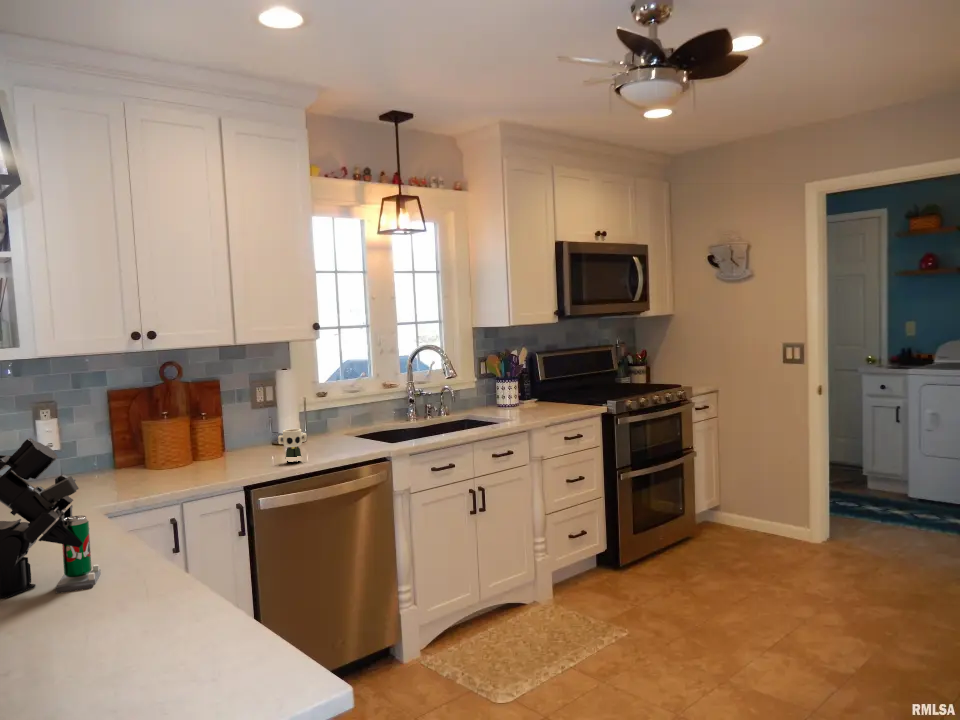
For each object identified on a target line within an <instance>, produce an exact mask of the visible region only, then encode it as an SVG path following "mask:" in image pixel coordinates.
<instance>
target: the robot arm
mask: <svg viewBox="0 0 960 720" xmlns="http://www.w3.org/2000/svg"><path fill="white" fill-rule="evenodd" d="M58 458H59V457H58V455H57V453H56V452H55V451H54V449H52V448H51V447H49V446H48V445H45V444H43V443H42V442H39V441H37V440H36V441H35V440H34V439H33V438H31V437H30V438H27V439H26V440H24V441H23V443H22V444H21V445H20V447H19V448H18V449H17V450H16V451H15V452H13V454H12V455H8V454H7V455H2V454H1V455H0V472H1V471H2V470H3V471H4V469H6V468H8V467H10V468H8V470H6V472H5V473H3V474H0V503H2V505H4V506H5V507H7V508H9V509H10V510H11V511H10V514H11V515H13V516H16V515H18V516H20V517H22V518H23V520H25V521H22V519H21V518H18V519H16V520H12V521H10V520H9V521H7V520H0V598H3V599H5V598H6V599H8V598H10V597H13V596H15V595H19V594H20V593H24V592H26V591H28V590H31V589H34V588H36V583H32V571H31V564H30V563H29V557H27V555H28V553H29V550H30V548H32V547H33V546H34V545H35V544H36V542H37V540H38V541H39V542H48V543H53V544H59V545H62V544H64V545H69V546H74V547H80V546H81V545H82V544H83V542H82V541H81V540H80V539H79V538H78V537H77V536H76V535H75V534H74V533H73V532H72V531H71V530H70V529H69V528H68V527H67V526H66V525H65V520H64V519H65V518H68V517H72V516H73V504H72V502H74V499H73V498H71V497H70V496H71V495H73V494H75V493H77V490H79V489H80V488H79V486H78V484H77V483H76V481H77V480H76V479H75V478H73V477H72V475H70V476H67V475H65V474H64V473H63V474H61V475H59V476H57V477H55V479H54V484H51V485H50V486H48V487H47V488H43V487H42V486H39V485H37V486H36V487H34V486H33V485H32V484H30V483H29V482H28V480H30V479H32V480H37V479H38V478H39V477H40V476H41V475H43V474H44V473H45V472H46V471H47V470H48V469H49V467H50V466H52V464H53V463H54V462H55V461H56V460H57V459H58ZM70 504H71V505H70ZM69 505H70V506H69ZM68 506H69V507H68ZM67 507H68V508H67ZM38 538H39V539H38Z"/></svg>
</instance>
